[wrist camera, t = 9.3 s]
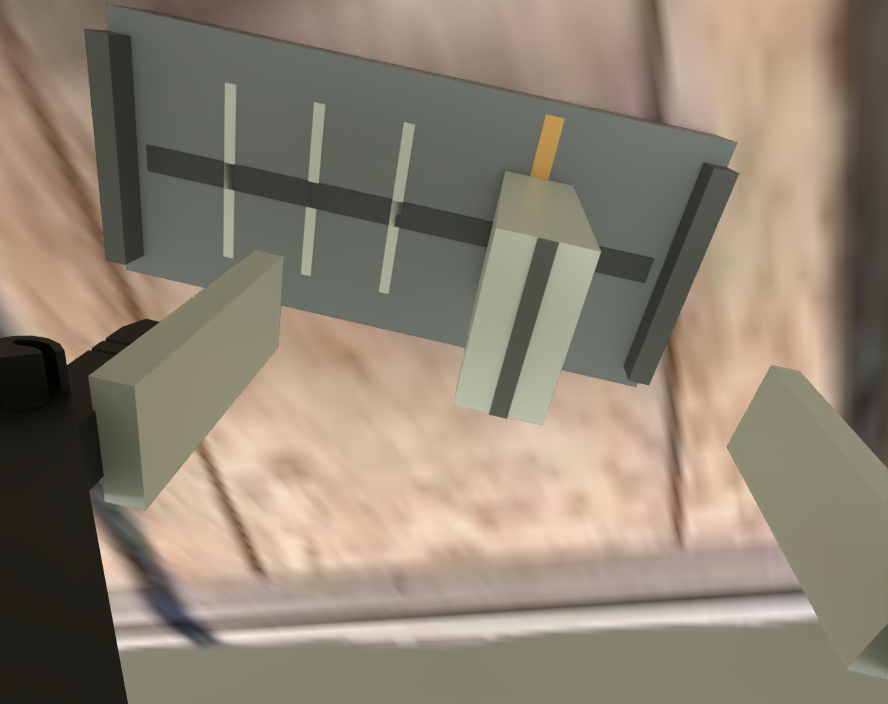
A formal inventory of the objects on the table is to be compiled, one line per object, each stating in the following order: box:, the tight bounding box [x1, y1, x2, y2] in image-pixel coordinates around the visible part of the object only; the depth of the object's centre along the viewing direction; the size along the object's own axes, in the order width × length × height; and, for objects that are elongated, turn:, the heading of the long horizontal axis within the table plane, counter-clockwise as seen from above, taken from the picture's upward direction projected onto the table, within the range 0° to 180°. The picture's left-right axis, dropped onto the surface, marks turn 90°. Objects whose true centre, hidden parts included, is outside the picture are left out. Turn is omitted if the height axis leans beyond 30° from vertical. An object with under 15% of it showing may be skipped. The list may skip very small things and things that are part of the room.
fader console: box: [84, 4, 739, 387], centre depth 27 cm, size 12×27×4 cm, turn 79°
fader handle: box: [454, 171, 601, 425], centre depth 21 cm, size 6×3×10 cm, turn 169°
